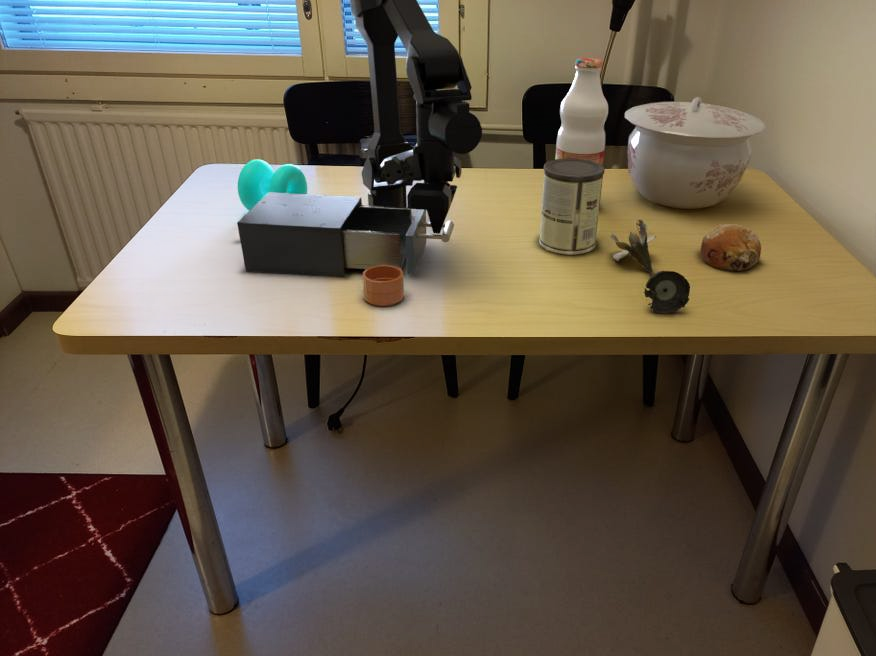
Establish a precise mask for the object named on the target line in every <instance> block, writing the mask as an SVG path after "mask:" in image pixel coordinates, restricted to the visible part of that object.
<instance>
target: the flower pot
mask: <svg viewBox="0 0 876 656" xmlns="http://www.w3.org/2000/svg"><path fill="white" fill-rule="evenodd" d="M404 284H405V283H404V271H403V270H402V268H401V269H400V268H398V267H395V266H391V265H377V266H372V267H370V268H368V269H364V271H363V272H362V286H363V298H364V300H365V301H366V302H368V303H369V304H371V305H373V306H377V307H390V306H394V305H397V304H398V303H399V302H401V301H403V299H404V297H405V288H404V287H405V286H404Z"/></svg>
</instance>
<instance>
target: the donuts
mask: <svg viewBox="0 0 876 656" xmlns="http://www.w3.org/2000/svg"><path fill="white" fill-rule="evenodd" d="M268 192H272V193H292V194H308V182H307V178H306V176H305V173H304V172H303V170H302V169H301V167H299V166H297V165H295V164H292V163H286V164H282V165H281V166H278V168H277V169H276V170H274V169H273V168H272V166H271V165H270V164H269V163H268V162H266V161H265V160H262V159H257V158H256V159H255V158H254V159H251V160H250V161H248V162H246V163H245V164H244V165H243V167H242V168H241V170H240V172H239V174H238V179H237V194H238V198H239V200H240V202H241V204H242V206H243V207H244V208H245V209H246V210H248V212H249V211H250V210H251V209H252V208H253V207H254V206H255V205H256V204H257V203H258V202H259V201H260V200H261V199H262V198H263V197H264V196H265V195H266V194H267V193H268Z"/></svg>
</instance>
